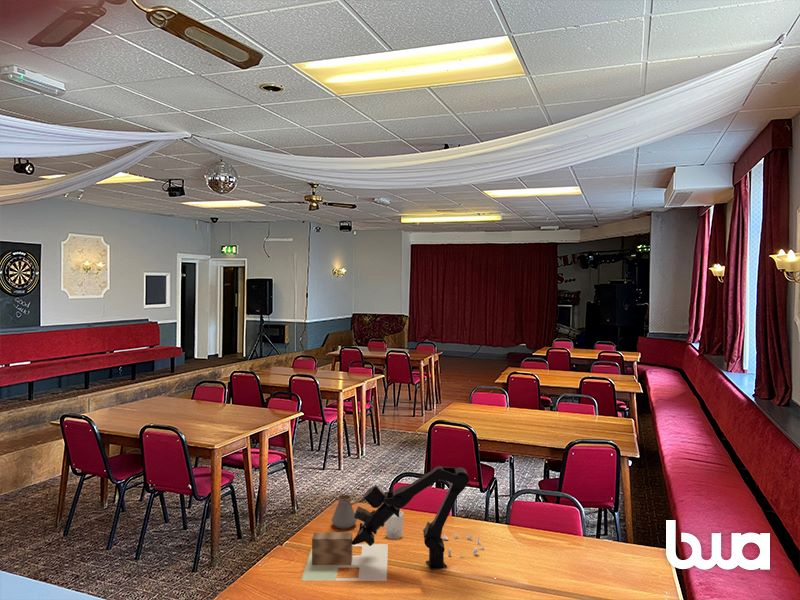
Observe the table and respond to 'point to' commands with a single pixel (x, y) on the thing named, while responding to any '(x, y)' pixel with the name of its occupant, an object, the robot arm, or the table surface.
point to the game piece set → (467, 538)
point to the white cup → (394, 526)
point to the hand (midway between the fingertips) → (352, 543)
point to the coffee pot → (344, 512)
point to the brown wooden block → (332, 548)
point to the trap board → (353, 566)
